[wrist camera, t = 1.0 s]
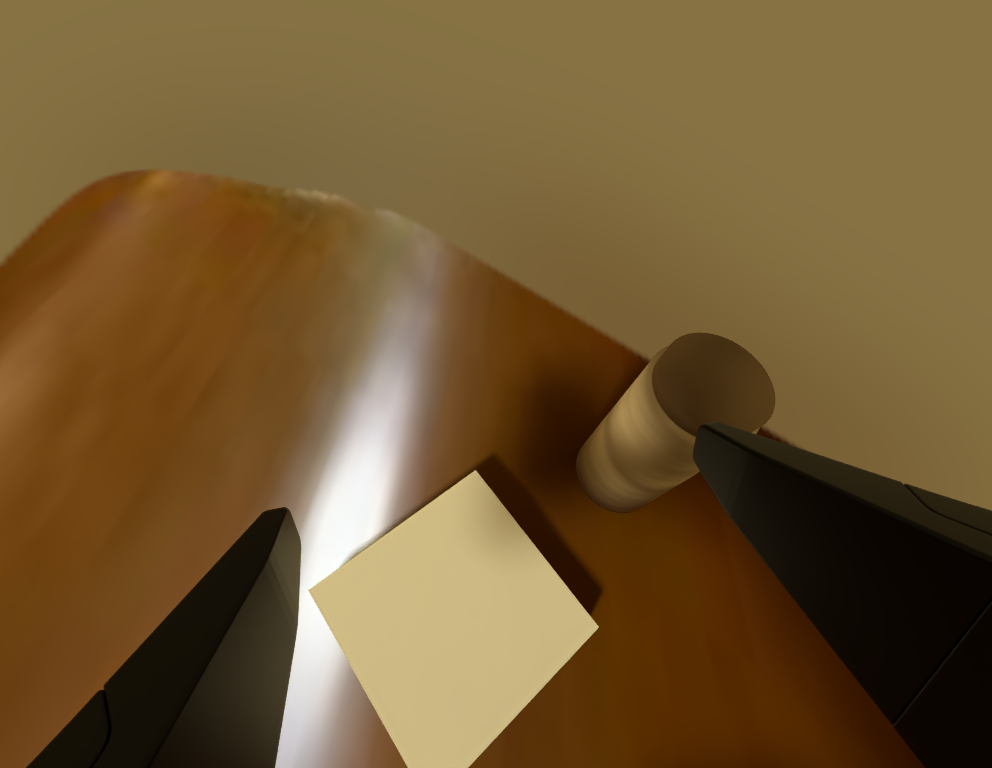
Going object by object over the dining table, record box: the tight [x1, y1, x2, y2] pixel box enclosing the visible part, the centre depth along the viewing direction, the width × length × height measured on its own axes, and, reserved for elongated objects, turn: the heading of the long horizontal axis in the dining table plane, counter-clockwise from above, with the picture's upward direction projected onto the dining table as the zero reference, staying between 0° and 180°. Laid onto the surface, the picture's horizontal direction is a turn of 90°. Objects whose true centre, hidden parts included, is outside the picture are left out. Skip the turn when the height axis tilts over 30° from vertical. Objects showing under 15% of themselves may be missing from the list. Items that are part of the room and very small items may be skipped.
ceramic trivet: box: [309, 470, 599, 768], centre depth 20 cm, size 9×9×2 cm
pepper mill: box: [576, 333, 775, 513], centre depth 21 cm, size 5×5×10 cm
